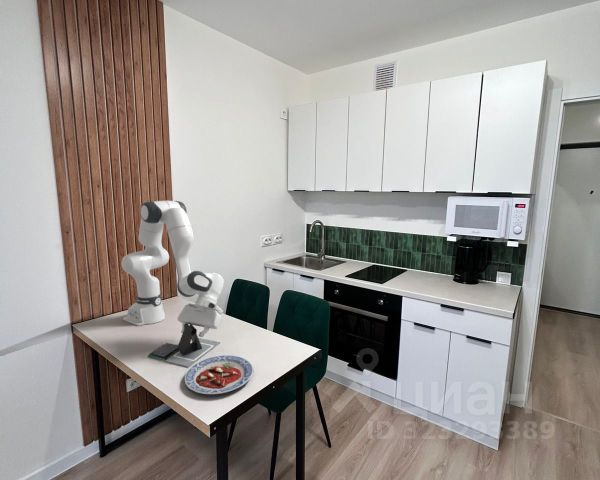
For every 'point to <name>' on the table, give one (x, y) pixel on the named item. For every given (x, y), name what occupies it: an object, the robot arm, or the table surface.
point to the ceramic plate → (218, 374)
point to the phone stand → (189, 340)
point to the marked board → (193, 354)
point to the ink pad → (164, 351)
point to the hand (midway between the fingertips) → (191, 334)
